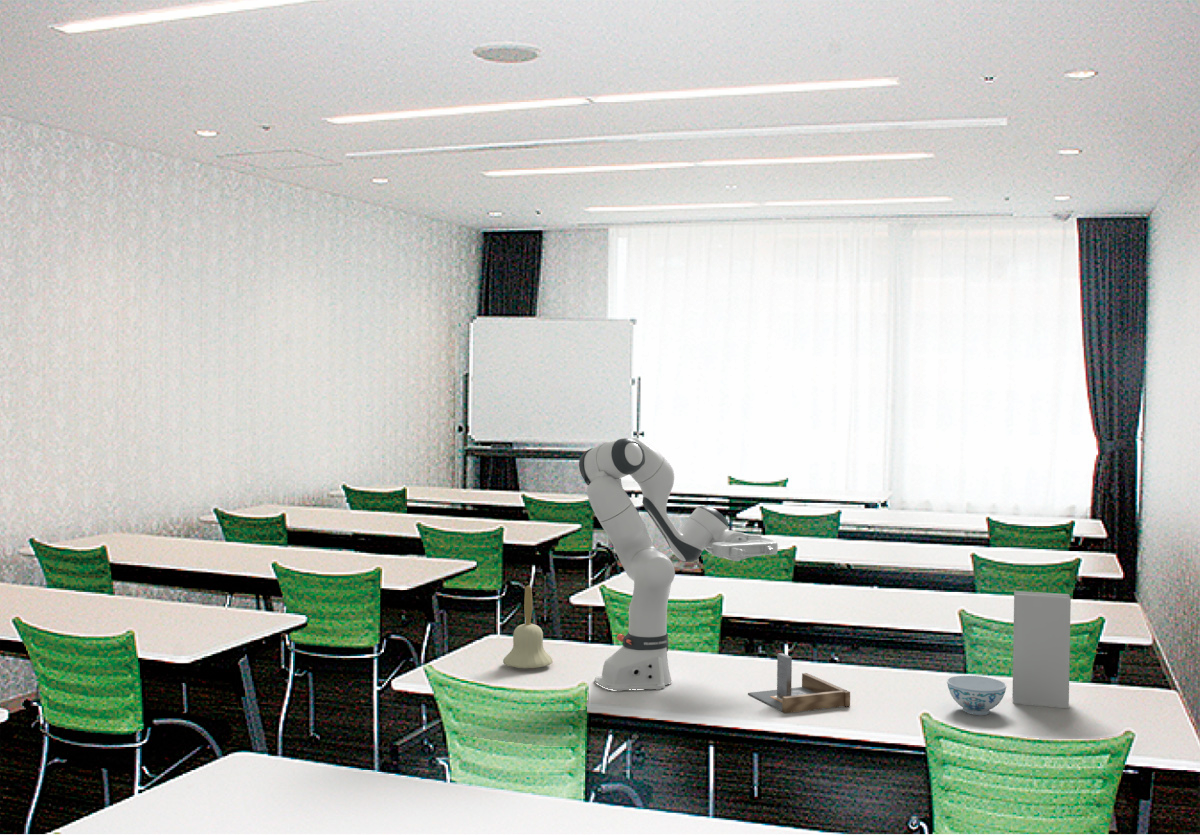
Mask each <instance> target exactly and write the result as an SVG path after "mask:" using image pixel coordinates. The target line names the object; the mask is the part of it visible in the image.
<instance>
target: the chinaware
mask: <svg viewBox="0 0 1200 835" xmlns="http://www.w3.org/2000/svg"><path fill="white" fill-rule="evenodd" d="M946 683H947V688H948V691H949V693H950V695H951V697H952V699H953V700H954V701H955V703H956V704H958V705H959V706H960V707H961V708H962V711H963V712H964V711H965V712H964V713H966V712H967V714H969V713H970V714H969V715H974V716H975V715H976V716H986V715H988V714H990V711H991V710H992V709H994V708H995V707H997V706H998V705H999V704H1000V703H1001V702H1002V700H1003V698H1004V697H1005V693H1006V690H1007V683H1005V682H1003V681H1002V680H1000V679H996V678H992V677H987V676H980V675H956V676H951V677H948V678H947V680H946Z"/></svg>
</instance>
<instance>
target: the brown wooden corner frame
mask: <svg viewBox="0 0 1200 835" xmlns="http://www.w3.org/2000/svg"><path fill="white" fill-rule="evenodd" d="M801 687H804V688H807V689H809V690H811V691H813V692H815V693H813V694H803V695H794V696H785V697H782V711H781V712H782V713H783V714H791V713H799V712H808V710H810V711H815V710H814V709H818V710H823V709H822V708H827V709H832V708H831V707H835V708H840V707H839V706H846V707H845V708H848V707H847V706H850V707H851V691H849V690H846V689H845V688H842V687H840V686H837V685H836V684H833V683H830V682H829V681H826V680H824V679H822V678H819V677H817V676H814V675H812V674H809V673H808V672H805V673H803V672H802V673H801Z"/></svg>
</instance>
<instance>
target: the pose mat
mask: <svg viewBox="0 0 1200 835" xmlns="http://www.w3.org/2000/svg"><path fill="white" fill-rule="evenodd" d="M794 690H800V691H802V692H804V693H806V694H813V693H815V692H813V691H811V690H809V689H807V688H804V687H802V686H799V687H791V691H794ZM747 695H749V696H751V697H752V698H754V699H757V700H759V701H761V702H762V703H764V704H766V705H769V707H772V708H774V709H776V710H778V711H780V712H782V699H781V698H779V697H777V689H771V690H762V691H753V692H747Z"/></svg>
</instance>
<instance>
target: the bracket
mask: <svg viewBox="0 0 1200 835" xmlns="http://www.w3.org/2000/svg"><path fill="white" fill-rule="evenodd" d="M792 658H793V657H792V656H789V655H787V654H785V653H783V652H780V653H779V652H778V653H777V658H776V659H777V660H776V661H777V663H776V664H777V665H776V666H777V667H776V668H777V669H776V673H777V674H776V677H777V678H776V690H777V697H779V698H781V699H782V697H785V696H794V695H803V694H806V693H804V692H802V691H800V690H794V691H791V688H792V683H793V682H792V676H793V675H792V669H793V668H792V666H793V664H792V663H793V661H792V660H793V659H792Z"/></svg>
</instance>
